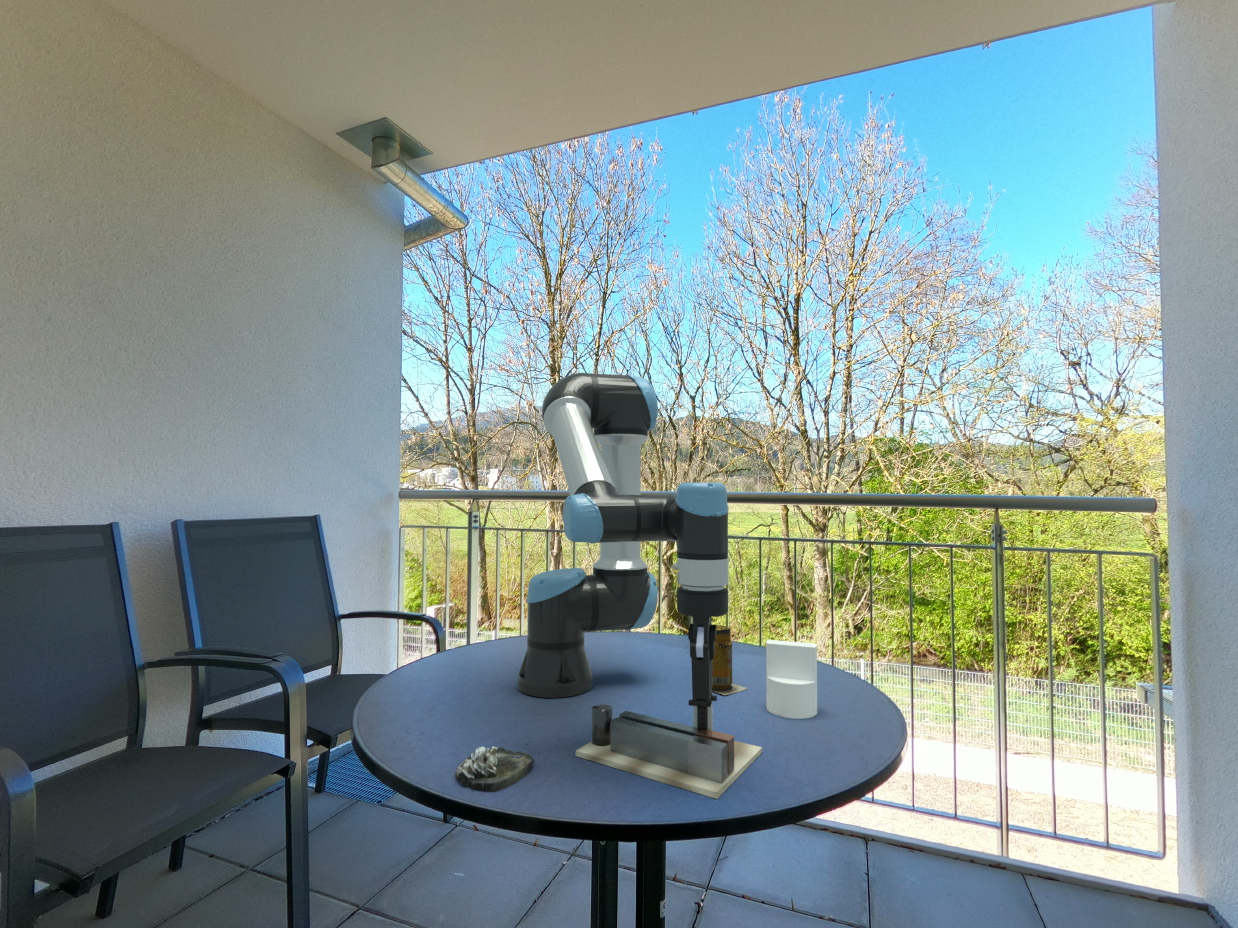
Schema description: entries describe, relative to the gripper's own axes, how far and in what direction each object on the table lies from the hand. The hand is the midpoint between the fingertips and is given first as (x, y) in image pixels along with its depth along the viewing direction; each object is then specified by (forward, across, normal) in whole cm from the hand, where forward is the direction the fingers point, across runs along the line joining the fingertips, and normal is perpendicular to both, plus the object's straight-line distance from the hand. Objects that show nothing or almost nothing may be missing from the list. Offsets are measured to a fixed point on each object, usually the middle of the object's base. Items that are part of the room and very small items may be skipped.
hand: (703, 748), depth 89 cm
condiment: (+3, -36, +1) cm, 36 cm away
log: (+3, +8, -29) cm, 30 cm away
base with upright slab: (+3, -26, +14) cm, 30 cm away
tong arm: (+1, +1, -4) cm, 4 cm away
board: (+2, -2, -5) cm, 6 cm away
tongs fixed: (+1, +1, -7) cm, 7 cm away
